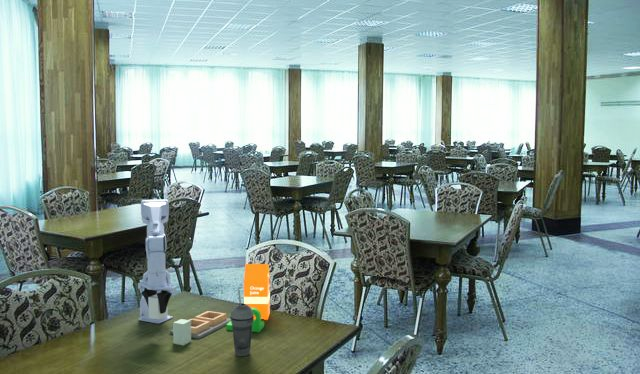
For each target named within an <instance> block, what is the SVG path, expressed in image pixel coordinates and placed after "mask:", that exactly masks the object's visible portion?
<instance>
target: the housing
mask: <svg viewBox="0 0 640 374" xmlns="http://www.w3.org/2000/svg"><path fill="white" fill-rule="evenodd" d="M188 320H190V321H191V339H192V338H193V339H199V340H200V339H202V338H204V337H205V336H209V333H210V334H212V333H213V331H214V332H215V331H217V330H219V329H221V328H223V327H226V325H227V324H228V323H229V322H230V321H231V319H230V317H227V313H226V312H225V313H224V312H218V311H212V310H207V311H204V312H203V313H199V314H198V315H196V316H194V318H190V319H188ZM211 332H212V333H211ZM169 334H171V335H173V329H172V330H170V331H169Z"/></svg>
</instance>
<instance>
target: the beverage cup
mask: <svg viewBox="0 0 640 374" xmlns="http://www.w3.org/2000/svg"><path fill="white" fill-rule="evenodd" d="M237 292H238V301H239V304H236V305H235V306H234V307H233V308H232V310H231V313H230V317H229V318H230V319H231V323H232V328H233V330H232V336H233V347H234V354H235V356H238V357H244V356H245V357H246V356H249V355H250V353H251V346H252V345H251V344H252V333H253V332H252V323H253V318H254V315H253V311H252V309H251V307H250V306H248V305H247V304H244V303H242V299H241V290H240V288H238V289H237Z"/></svg>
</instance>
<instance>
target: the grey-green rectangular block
mask: <svg viewBox="0 0 640 374" xmlns="http://www.w3.org/2000/svg"><path fill="white" fill-rule="evenodd" d="M148 307H149V318H153V319H160V318H163V317H165V316H166V312H165V313H162V314H161V313H160V309H159V300H158V297H157V294H155V295H153V296H150V297H148Z"/></svg>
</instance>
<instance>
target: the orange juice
mask: <svg viewBox="0 0 640 374" xmlns="http://www.w3.org/2000/svg"><path fill="white" fill-rule="evenodd" d="M244 265H245V267H244V278H243V304H247V305H248V306H250V307H251V308H256V309H258V310H259V311H260V313H261V319H264V320H265V321H268V320H269V316H270V314H271V313H270V312H271V301H270V300H271V293H270V292H271V291H270V286H271V285H270V277H271V275H270V268H269V266H270V265H269V263H245V264H244ZM253 319H254V320H255V319H256V317H255V315H254V318H253ZM264 320H263V321H264Z"/></svg>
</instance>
